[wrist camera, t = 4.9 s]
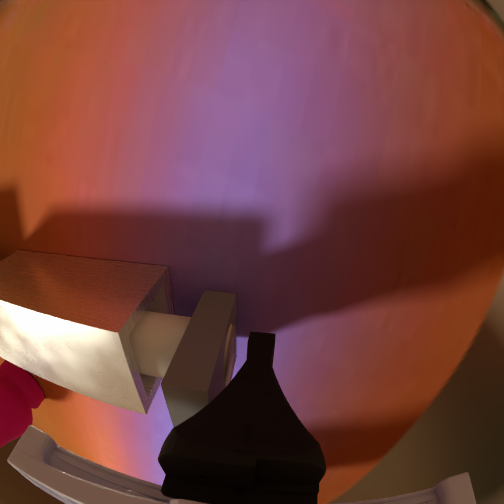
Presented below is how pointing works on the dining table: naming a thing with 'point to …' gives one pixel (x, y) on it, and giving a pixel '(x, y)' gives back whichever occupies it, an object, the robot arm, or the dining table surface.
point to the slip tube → (189, 352)
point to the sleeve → (81, 322)
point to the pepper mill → (16, 401)
